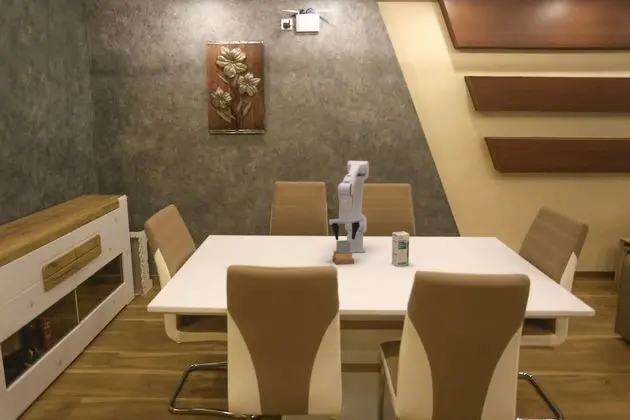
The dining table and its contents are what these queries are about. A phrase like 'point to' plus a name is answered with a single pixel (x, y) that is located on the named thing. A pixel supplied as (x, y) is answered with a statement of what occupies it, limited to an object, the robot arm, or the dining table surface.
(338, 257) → the oak top block
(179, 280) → the dining table surface
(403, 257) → the syrup box
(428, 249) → the dining table surface
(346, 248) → the slate cube
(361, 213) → the robot arm
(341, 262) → the walnut base block
